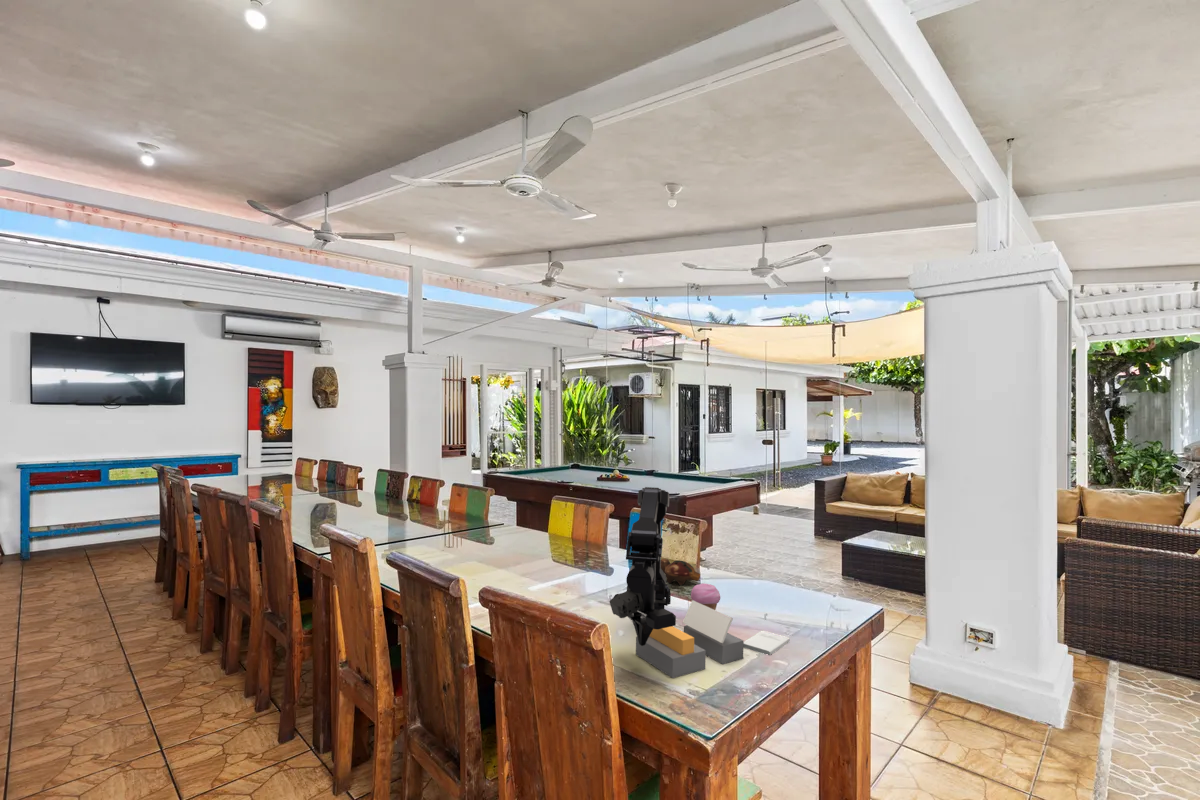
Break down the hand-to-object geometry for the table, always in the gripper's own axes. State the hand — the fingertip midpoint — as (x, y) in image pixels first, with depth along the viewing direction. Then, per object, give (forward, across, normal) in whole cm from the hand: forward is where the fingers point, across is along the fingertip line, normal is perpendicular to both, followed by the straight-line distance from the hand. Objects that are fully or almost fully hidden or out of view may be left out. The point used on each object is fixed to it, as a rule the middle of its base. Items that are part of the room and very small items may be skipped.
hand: (642, 645), depth 147 cm
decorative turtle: (+6, -50, +52) cm, 73 cm away
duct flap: (-3, 0, +20) cm, 20 cm away
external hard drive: (+6, +4, +38) cm, 39 cm away
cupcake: (+6, -19, +37) cm, 42 cm away
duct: (+6, 0, +15) cm, 16 cm away
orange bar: (+1, 0, +8) cm, 9 cm away
